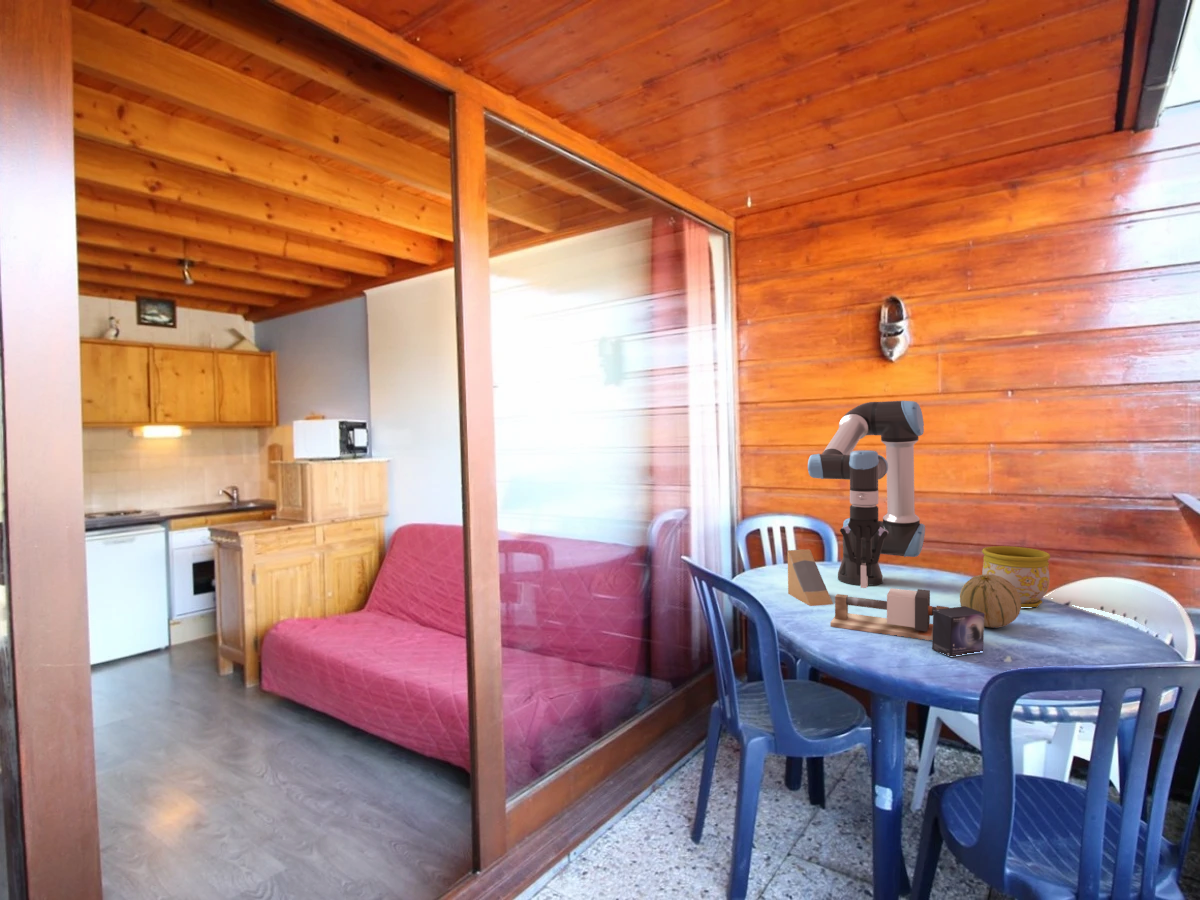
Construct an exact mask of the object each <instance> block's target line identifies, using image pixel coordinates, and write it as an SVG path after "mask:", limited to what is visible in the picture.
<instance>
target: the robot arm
mask: <svg viewBox="0 0 1200 900" xmlns="http://www.w3.org/2000/svg"><path fill="white" fill-rule="evenodd" d="M924 426H925V424H924V417H923V411H922V408H921V406H920V405H919V403H918V402H917V401H913V400H890V401H869V402H865V403H862V404H860V405H857V406H856V407H854V408H852V409H850V410H849V411H847V412H846V413H845V414H844V415H843V416H842V418H841V419H840V421H839V423H838V429H837V431H836V432H835V434H834V435H833V437H832V438H831V440H830V441H829V443H828V444H827V446H826V447H825V449H824V450H823V451H822V453H816V454H811V455H810V456H809V458H808V460H807V471H808V475H809V477H811V478H813V479H821V480H847V481H848V480H849V504H850V506H849V517H848V518H845V519H844V520H843V524H842V525H843V526H842V527H841V528H840V529H839V532H840V533H841V535H842V560H841V563H840V565H839V569H838V572H837V580H839V582H842V583H843V584H844V583H845V584H849V585H856V586H860V588H861V589H867V587H868V586H877V585H881V584H883V582H884V581H883V580H884V578H883V573H882V569H881V567H880V563H879V561H880V557H881V555H889V556H898V557H904V558H906V557H907V558H909V557H910V558H912V557H913V558H916V557H919V555H920V554H921V552H922V549H923V546H924V540H925V535H926V525H925V524H924V523H920V521H921V519H920V517H919V516H918V515H917V514H916V513H915V510H916V509H915V460H914V459H915V456H914V455H915V453H914V452H915V451H914V449H915V448H914V446H915V444H917V442H918V441H919V437H920V436H923V434H924V433H925V431H924V430H925V429H924ZM866 436H880V442H881V443H882V444H884V445H885V452H886V453H885V455H886V456H885V457H886V458H885V457H884V456H882V455H880V454H879V453H878V452H877V451H875V450H861V449H860V450H854V449H855V448H856V447H857V445H858V443H859V441H860V440H862V439H863V438H865V437H866ZM885 476H886V496H887V497H886V501H887V502H886V504H887V505H886V506H887V507H886V510H887V513H886V514H885V515H883V517H882V520H879V506H878V505H879V480H881V479H882V478H884V477H885Z"/></svg>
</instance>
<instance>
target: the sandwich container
mask: <svg viewBox="0 0 1200 900" xmlns="http://www.w3.org/2000/svg"><path fill="white" fill-rule="evenodd" d="M817 565H818V564H817V563H816V561H815V559H814V556H813V553H812V550H811V549H792V550H791V549H790V550H787V591H788V592H787V594H788V595H790V596H791V597H793V598H795V599H796V600H798V601H800V602H802V603H804V604H806V605H808V606H809V607H813V606H814V607H815V606H816V607H817V606H818V607H819V606H827V605H828V606H830V605H831V606H832V605H834V603H833V600H832V598H831V596H830V593H829V591H828V589H827V587H826V584H825V582H824V580H823V577H822V575H821V572H820V570H819V568H818V566H817Z"/></svg>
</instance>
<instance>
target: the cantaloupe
mask: <svg viewBox="0 0 1200 900" xmlns="http://www.w3.org/2000/svg"><path fill="white" fill-rule="evenodd" d="M959 593H960V594H959V603H960V607H962V606H966V607H969V608H971V609H974V610H977V611H979V612H982V613H984V628H985V627H986V628H993V629H994V627H995V628H1001V627H1002V628H1003V627H1005V626H1008V625H1010V624H1011V623H1012V622H1014V621H1015V620H1016V619H1017V618H1018V617H1019V615H1020V612H1021V599H1020V596H1019V594H1018V592H1017V590H1016V588H1015V587H1014V586H1013V585H1012V584H1011V583H1010V582H1009V581H1008V580H1006V579H1004V578H1002V577H1000V576H996V575H991V574H985V575H982V574H979V575H975V576H973V577H971V578H970V579H968V580H967V581H966V582H965V583H964V584H963V585H962V587H961V590H960V592H959Z"/></svg>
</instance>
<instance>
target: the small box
mask: <svg viewBox="0 0 1200 900" xmlns="http://www.w3.org/2000/svg"><path fill="white" fill-rule="evenodd" d="M932 624H933V641H931V642H932V643H931V644H932V645H931V649H932V650H933V651H936V652H937V651H938V652H937V653H939V652H941V653H944V654H946V655H949V656H956V655H962V654H967V653H974V652H980V651H983V652H984V645H985V643H984V641H985V640H984V636H985V627H984V613H982V612H979V611H977V610H974V609H971V608H969V607H966V606H962V607H961V606H955V607H949V608H945V609H936V610H933V616H932ZM941 653H940V654H941ZM944 654H943V655H944ZM946 655H945V656H946Z"/></svg>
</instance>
